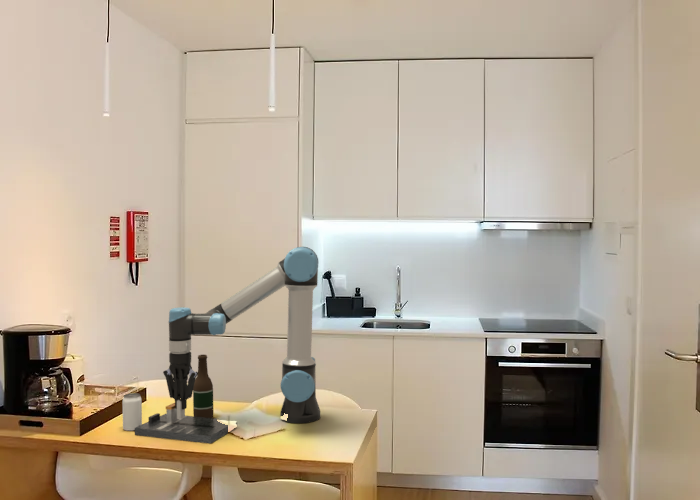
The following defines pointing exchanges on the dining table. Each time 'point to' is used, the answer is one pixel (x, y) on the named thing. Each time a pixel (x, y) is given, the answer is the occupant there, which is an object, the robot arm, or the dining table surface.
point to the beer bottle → (203, 391)
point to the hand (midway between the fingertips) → (180, 417)
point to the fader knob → (171, 413)
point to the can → (132, 411)
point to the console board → (183, 429)
